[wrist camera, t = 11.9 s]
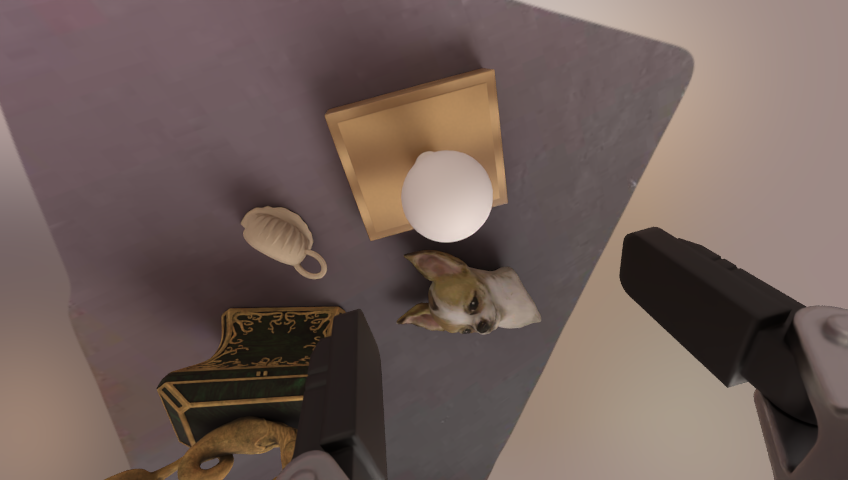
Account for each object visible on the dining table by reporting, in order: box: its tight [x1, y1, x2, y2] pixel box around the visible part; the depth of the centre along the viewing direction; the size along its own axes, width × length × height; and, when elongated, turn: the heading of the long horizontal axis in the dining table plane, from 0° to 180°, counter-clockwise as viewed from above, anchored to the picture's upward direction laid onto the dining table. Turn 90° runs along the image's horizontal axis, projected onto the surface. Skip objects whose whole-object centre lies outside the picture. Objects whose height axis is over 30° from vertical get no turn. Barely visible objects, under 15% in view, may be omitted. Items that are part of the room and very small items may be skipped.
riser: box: [325, 68, 508, 241], centre depth 30 cm, size 12×14×3 cm
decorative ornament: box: [241, 206, 327, 279], centre depth 31 cm, size 4×8×5 cm, turn 48°
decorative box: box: [105, 307, 346, 480], centre depth 31 cm, size 20×10×20 cm, turn 84°
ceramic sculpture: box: [397, 250, 541, 334], centre depth 36 cm, size 11×9×15 cm
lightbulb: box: [401, 150, 493, 242], centre depth 24 cm, size 6×6×11 cm
